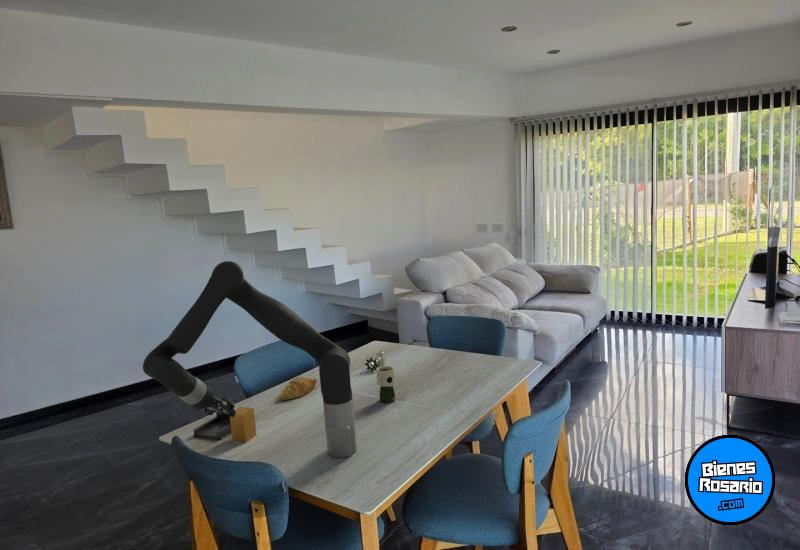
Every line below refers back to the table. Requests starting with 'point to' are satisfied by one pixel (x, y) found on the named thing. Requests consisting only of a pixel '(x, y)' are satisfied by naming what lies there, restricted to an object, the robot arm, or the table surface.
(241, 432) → the block
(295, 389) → the croissant
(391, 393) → the character mug
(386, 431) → the table surface
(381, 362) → the valve
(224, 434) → the tray
